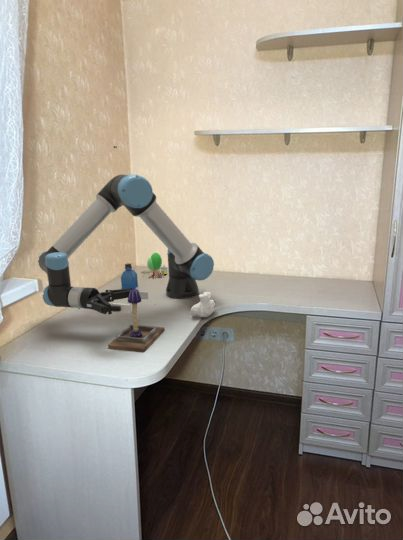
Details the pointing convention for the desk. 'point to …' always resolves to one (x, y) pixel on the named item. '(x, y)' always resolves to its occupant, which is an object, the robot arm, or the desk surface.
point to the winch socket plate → (133, 343)
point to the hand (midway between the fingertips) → (139, 301)
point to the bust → (203, 306)
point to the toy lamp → (135, 311)
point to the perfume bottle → (129, 278)
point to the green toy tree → (156, 265)
